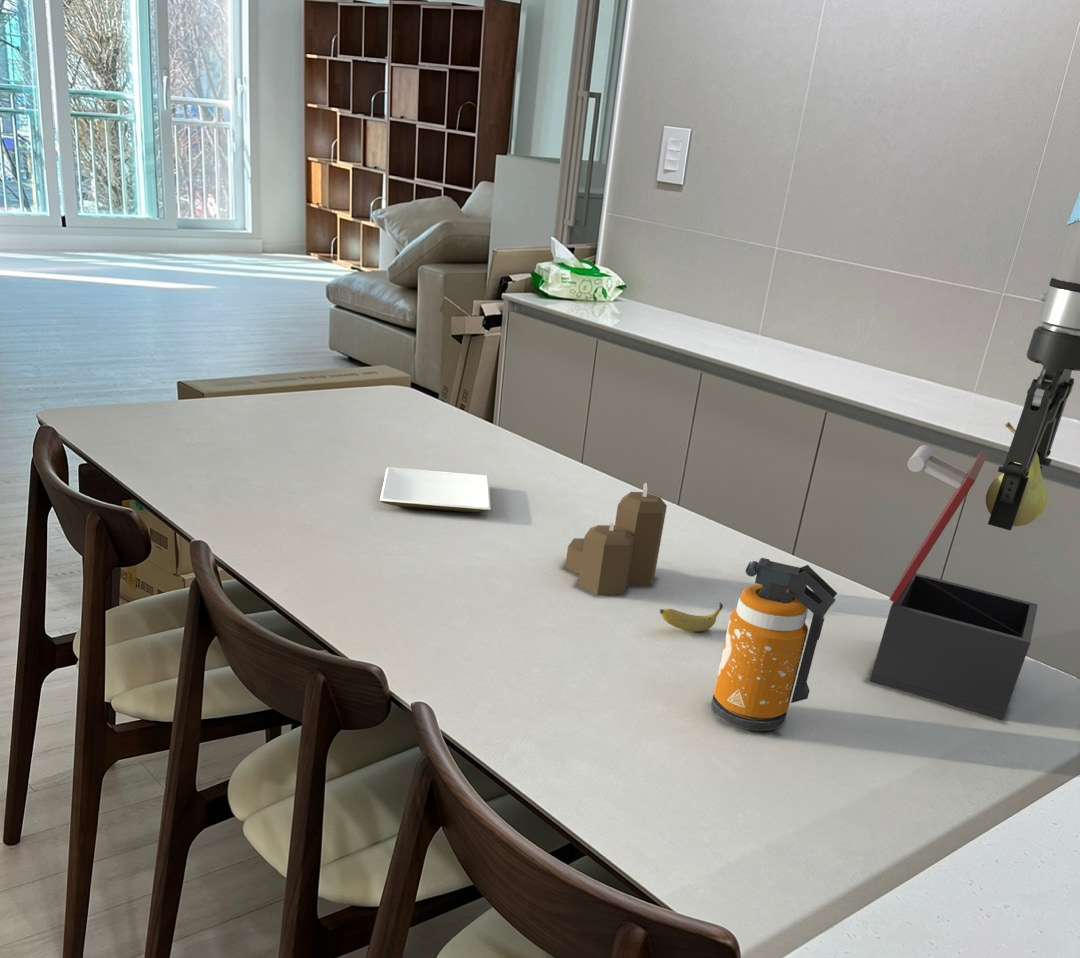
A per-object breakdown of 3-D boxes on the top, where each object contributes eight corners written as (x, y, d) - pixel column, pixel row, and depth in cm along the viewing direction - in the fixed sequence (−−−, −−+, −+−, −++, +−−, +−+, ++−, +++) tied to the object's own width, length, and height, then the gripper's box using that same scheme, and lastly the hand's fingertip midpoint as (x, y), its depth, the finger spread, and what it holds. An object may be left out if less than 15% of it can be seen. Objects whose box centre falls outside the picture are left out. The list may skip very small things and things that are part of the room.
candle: (639, 559, 171) (654, 469, 164) (670, 594, 160) (687, 499, 153) (559, 559, 168) (570, 467, 160) (584, 594, 156) (598, 497, 149)
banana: (660, 638, 146) (665, 611, 144) (652, 630, 147) (657, 604, 146) (722, 632, 150) (728, 606, 148) (713, 625, 151) (719, 599, 150)
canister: (717, 691, 133) (750, 542, 124) (805, 714, 131) (845, 563, 121) (703, 723, 126) (736, 566, 116) (796, 747, 123) (838, 589, 114)
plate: (487, 485, 197) (488, 475, 196) (489, 520, 180) (490, 508, 179) (386, 477, 195) (386, 466, 194) (379, 510, 178) (379, 499, 177)
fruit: (1029, 538, 128) (1062, 440, 123) (967, 520, 132) (997, 425, 126) (1042, 526, 133) (1076, 432, 128) (983, 510, 137) (1013, 417, 131)
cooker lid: (987, 455, 138) (932, 426, 139) (975, 480, 125) (914, 449, 127) (914, 569, 147) (862, 541, 149) (895, 603, 135) (840, 572, 137)
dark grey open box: (1011, 676, 147) (1038, 604, 142) (1002, 720, 135) (1030, 642, 130) (889, 642, 153) (909, 571, 148) (869, 681, 141) (891, 605, 136)
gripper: (1054, 317, 131) (996, 496, 141) (1016, 330, 116) (955, 529, 127) (1119, 329, 127) (1054, 512, 138) (1089, 343, 112) (1019, 547, 123)
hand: (1007, 520), depth 132 cm, fingers closed on fruit, 7 cm apart
